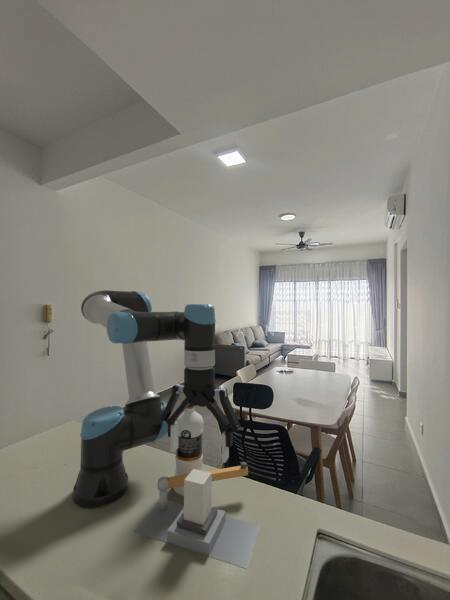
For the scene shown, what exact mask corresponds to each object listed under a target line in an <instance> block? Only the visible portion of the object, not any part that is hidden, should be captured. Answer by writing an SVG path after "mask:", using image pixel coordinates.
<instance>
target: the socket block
mask: <svg viewBox="0 0 450 600" xmlns="http://www.w3.org/2000/svg"><path fill="white" fill-rule="evenodd" d="M217 509H218V513H217V515H216V517H215V518H214V520H213V522H212V524H211V526H210V528H209V530H208V531H207V533H206V535H204V534H201V533H198V532H195V531H191V530H188V529H185V528H181V527H178V526H177V521H178V519H179V518H180V516H181V515H182V514H183V512H184V503H178V502H175V501H173V500H168V490H166V491H159V501H158V502H157V503H156V504H155V506H154V507H153V508H152V509H151V511H149V512H148V514H147V515H146V516H145V517H144V518H143V519H142V521H141V522H140V523H139V524H138V525H137V526H136V528H135V529H134V530H133V533H137V534H140V535H142V536H146V537H148V538H151V539H154V540H158V541H160V542H163V543H167V544H169V545H173V546H175V547H178V548H182V549H185V550H188V551H191V552H194V553H197V554H200V555H203V556H206V557H208V558H213V559H216V560H218V561H220V562H221V561H222V562H225V563H227V564H230V565H233V566H237V567H240V568H243V569H245V570H248V569H249V567H250V563H251V560H252V556H253V553H254V551H255V547H256V543H257V541H258V537H259V534H260V530H261V527H262V525H260V524H256V523H253V522H250V521H245V520H241V519H238V518H233V517H230V516H227V515H226V511H225V510H223V509H219V508H217Z"/></svg>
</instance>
